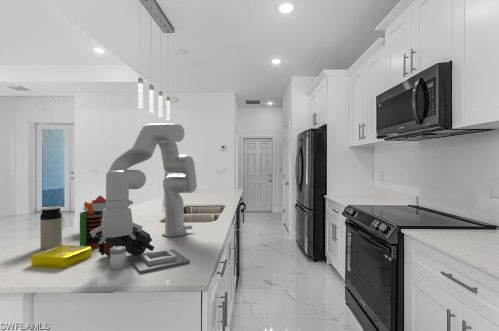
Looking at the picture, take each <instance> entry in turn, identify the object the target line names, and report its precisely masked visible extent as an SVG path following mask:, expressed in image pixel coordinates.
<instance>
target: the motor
mask: <svg viewBox="0 0 499 331" xmlns="http://www.w3.org/2000/svg"><path fill="white" fill-rule="evenodd" d="M87 202H88V201H87ZM83 206H84V207H87V208H88V211H85V210H84V211H81V212H80V213H79V246H90V247H91V250H92V249H93V250H94V249H99V243H98V242H97V241H95V240H94V239H93V237H92V236H91V234H90V231H92V230H94V229H96V228H97V227H99V226H101V221H102V213H103V211H100V210H95V211H93V205H92V201H91V202H90V201H89V202H88V203H84V205H83ZM84 207H83V208H84ZM96 236H97V237H98V238H100V237H101V236H102V234H101V230H100V231H99V232H97V233H96ZM103 243H105V241H104V242H103Z"/></svg>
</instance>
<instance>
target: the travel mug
mask: <svg viewBox="0 0 499 331" xmlns="http://www.w3.org/2000/svg"><path fill="white" fill-rule="evenodd" d="M61 209H62V207H61V206H57V205H56V206H45V207H41V208H40V210H41V214H40V217H39V219H40V220H39V221H40V222H39V223H40V225H39V226H40V229H39V230H40V232H39V233H40V250H43V251H45V250H48V249H51V248H54V247H57V246H61V245H63V224H62V223H63V215H62V212H61Z"/></svg>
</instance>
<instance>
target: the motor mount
mask: <svg viewBox="0 0 499 331" xmlns="http://www.w3.org/2000/svg"><path fill="white" fill-rule="evenodd" d="M128 261H129V262H130V263H131V265H132V266H133V267H134V268H135V269H136V271H137V272H138V273H139V274H145V273H151V272H156V271H159V270H164V269H169V268H175V267H178V266H182V265H184V266H185V265H188V264H191V263H190V262H191V261H190V259H188V258H187V257H186V256H185V255H183V254H181V253H180V252H178V251H176V249H161V250H160V249H159V250H155V251H154V250H153V251H150V252H144V253H143V254H141V255H137V256H134V255H131V256H128Z"/></svg>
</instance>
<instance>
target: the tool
mask: <svg viewBox="0 0 499 331" xmlns="http://www.w3.org/2000/svg"><path fill="white" fill-rule="evenodd" d="M136 231H137V228H136V227H133V233H132V234H134V233H135V232H136ZM129 240H130V236H129V235H126V236H119V237H110V238H106V239H105V240H104V241H105V243H104V255H105V256H107V257H108V258H110V248H112V247H116V246H125V247H126V253H128V254H130V255H131V256H137V255H141V254H143V253H146V250H149V251H150V252H154V250H155V246H154V245H152V244H150V243H151V242H152V241H153V238H152V237H151V234H150V233H149V232H147V231H145V230H143V229H142V230H141V232H140V234H139V235H138V236H137V237H136V239H135V248H133V251H131V250H130V249H129Z"/></svg>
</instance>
